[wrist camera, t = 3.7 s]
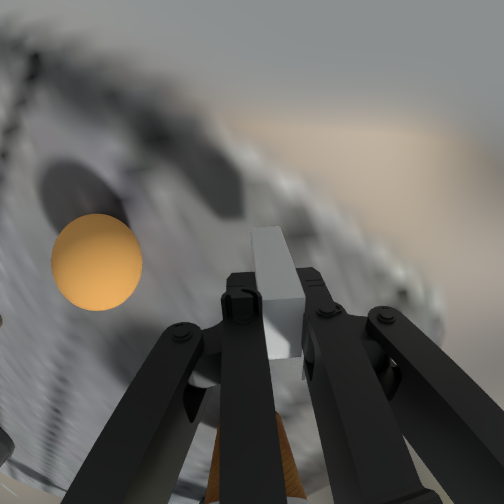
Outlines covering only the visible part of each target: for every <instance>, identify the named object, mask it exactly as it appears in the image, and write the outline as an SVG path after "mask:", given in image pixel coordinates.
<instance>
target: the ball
mask: <svg viewBox="0 0 504 504" xmlns="http://www.w3.org/2000/svg"><path fill="white" fill-rule="evenodd" d="M51 266H52V273H53V277H54V280H55V282H56V284H57V286H58V288H59V290H60V291H61V293H62V294H63V295H64V296H65V297H66V298H67V299H68V300H69V301H70V302H72V303H73V304H75V305H76V306H78V307H81V308H83V309H87V310H91V311H103V310H108V309H111V308H114V307H116V306H118V305H120V304H121V303H123V302H124V301H125V300H126V299H127V298H128V297H129V296H130V295H131V294H132V293H133V291H134V290H135V288H136V287H137V284H138V282H139V280H140V276H141V272H142V254H141V249H140V246H139V243H138V241H137V239H136V237H135V235H134V234H133V233H132V231H131V230H130V229H129V228H128V227H127V226H126V225H125V224H124V223H123V222H121V221H120V220H118V219H116V218H114V217H112V216H109V215H105V214H88V215H84V216H81V217H79V218H77V219H75V220H73V221H72V222H70V223H69V224H68V225H67V226H66V227H65V228H64V229H63V230H62V231H61V233H60V234H59V236H58V238H57V239H56V242H55V244H54V247H53V251H52V258H51Z"/></svg>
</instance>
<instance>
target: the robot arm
mask: <svg viewBox="0 0 504 504" xmlns="http://www.w3.org/2000/svg"><path fill="white" fill-rule="evenodd" d="M251 250H252V272H240V273H231V275H230V276H229V277H228V278H227V284H226V292H225V293H224V294H223V295H222V297H221V306H222V315H223V320H222V321H221V322H220V323H219V324H217V325H215V326H214V327H211V328H208V329H204V330H201V329H200V327H199V326H197V325H196V324H193V323H189V322H181V323H176V324H173V325H171V326H169V327H168V328H167V329H166V330H165V331H164V332H163V333H162V335H161V336H160V338H159V340H158V341H157V343H156V344H155V346H154V347H153V349H152V351H151V352H150V354H149V355H148V357H147V359H146V360H145V362H144V363H143V365H142V366H141V368H140V370H139V371H138V373H137V374H136V376H135V378H134V379H133V381H132V383H131V384H130V386H129V387H128V389H127V391H126V392H125V394H124V396H123V397H122V399H121V400H120V402H119V404H118V405H117V407H116V409H115V410H114V412H113V414H112V415H111V417H110V419H109V420H108V422H107V424H106V425H105V427H104V429H103V430H102V432H101V434H100V435H99V437H98V439H97V440H96V442H95V444H94V445H93V447H92V449H91V451H90V452H89V454H88V456H87V457H86V459H85V461H84V463H83V464H82V466H81V468H80V470H79V471H78V473H77V475H76V477H75V478H74V480H73V482H72V484H71V485H70V487H69V489H68V491H67V493H66V494H65V496H64V498H63V500H62V502H61V503H60V504H168V501H169V499H170V496H171V494H172V491H173V489H174V486H175V484H176V481H177V478H178V476H179V473H180V471H181V468H182V466H183V463H184V460H185V458H186V455H187V453H188V450H189V448H190V445H191V442H192V440H193V437H194V435H195V432H196V429H197V427H198V424H199V422H200V419H201V416H202V414H203V411H204V409H205V406H206V403H207V401H208V398H209V395H210V393H211V390H212V386H215V385H218V384H221V395H220V450H219V504H288V503H287V495H286V488H285V480H284V473H283V465H282V457H281V450H280V442H279V435H278V427H277V420H276V412H275V405H274V397H273V390H272V382H271V375H270V367H269V360H268V359H281V358H292V357H301V353H302V349H303V353H304V363H303V373H302V380H305V375H306V379H307V384H308V388H309V392H310V396H311V401H312V405H313V409H314V414H315V418H316V422H317V427H318V431H319V435H320V440H321V444H322V449H323V453H324V458H325V462H326V467H327V472H328V476H329V481H330V486H331V490H332V495H333V500H334V504H443V502H442V501H441V499H440V497H439V495H438V494H437V493H436V492H435V491H434V490H430V489H427V488H425V487H424V486H422V483H421V482H420V479H419V476H418V474H417V471H416V469H415V466H414V463H413V461H412V458H411V456H410V453H409V450H408V448H407V445H406V443H405V441H404V438H403V436H404V437H405V438H406V439H407V441H408V442H409V444H410V445H411V446H412V448H413V449H414V450H415V452H416V453H417V454H418V456H419V457H420V458H421V460H422V461H423V462H424V463H425V465H426V466H427V467H428V469H429V470H430V471H431V473H432V474H433V476H434V477H435V478H436V480H437V481H438V482H439V484H440V485H441V486H442V488H443V489H444V490H445V492H446V493H447V495H448V496H449V497H450V499H451V500H452V501H453V502H454V504H504V411H503V410H502V409H501V408H500V407H499V406H498V405H497V404H496V403H495V402H494V401H493V400H492V399H491V398H490V397H489V396H488V395H487V394H486V393H485V392H484V391H483V390H482V389H481V388H480V387H479V386H478V385H477V384H476V383H475V382H474V381H473V380H472V379H471V378H470V377H469V376H468V375H467V374H466V373H465V372H464V371H463V370H462V369H461V368H460V367H459V366H458V365H457V364H456V363H455V362H454V361H453V360H452V359H451V358H450V357H449V356H447V354H445V353H444V352H443V351H442V350H441V349H440V348H439V347H438V346H437V345H436V344H435V343H434V342H433V341H432V340H431V339H429V338H428V337H427V336H426V335H425V334H424V333H423V332H422V331H421V330H420V329H419V328H417V327H416V326H415V325H414V324H413V323H412V322H411V321H410V320H409V319H408V318H406V317H405V316H404V315H403V314H402V313H401V312H399V311H398V310H396V309H395V308H392V307H388V306H378V307H375V308H373V309H371V310H370V311H369V313H368V317H364V316H355V315H350V314H347V312H346V310H345V309H344V308H343V307H342V306H341V305H340V304H338V303H336V302H334V301H333V299H332V297H331V295H330V293H329V291H328V289H327V287H326V286H325V282H324V280H323V278H322V276H321V274H320V272H318V271H317V270H316V269H314V268H313V267H307V268H295V266H294V264H293V261H292V258H291V255H290V253H289V250H288V247H287V245H286V242H285V239H284V237H283V234H282V231H281V229H280V226H276V227H257V228H251ZM392 360H393V361H394V362H395V363H396V364H397V365H396V364H395V363H394V362H393V361H392ZM402 434H403V436H402ZM14 448H15V445H14V443H13V441H12V440H11V439H10V438H9V436H8V435H7V434H6V433H5V432H4V431H3V430H2V429H1V428H0V467H1V466H2V464H3V463H4V462H5V461H6V459H7V458H10V457H11V455H12V453H13V451H14Z"/></svg>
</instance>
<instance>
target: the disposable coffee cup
mask: <svg viewBox="0 0 504 504" xmlns="http://www.w3.org/2000/svg"><path fill="white" fill-rule="evenodd" d="M276 420H277V427H278V435H279V442H280V450H281V457H282V465H283V473H284V480H285V488H286V495H287V503H288V504H311V503H310V502H309V501H308V500H307V498H306V495H305V492H304V489H303V486H302V483H301V480H300V476H299V473H298V470H297V467H296V464H295V460H294V458H293V454H292V452H291V448H290V445H289V442H288V439H287V436H286V432H285V429H284V426H283V423H282V419H281V417H280V415H279V414H278V413H276ZM219 450H220V419H219V424H218V429H217V435H216V440H215V446H214V451H213V456H212V462H211V468H210V474H209V480H208V485H207V491H206V497H205V503H204V504H219Z"/></svg>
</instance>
